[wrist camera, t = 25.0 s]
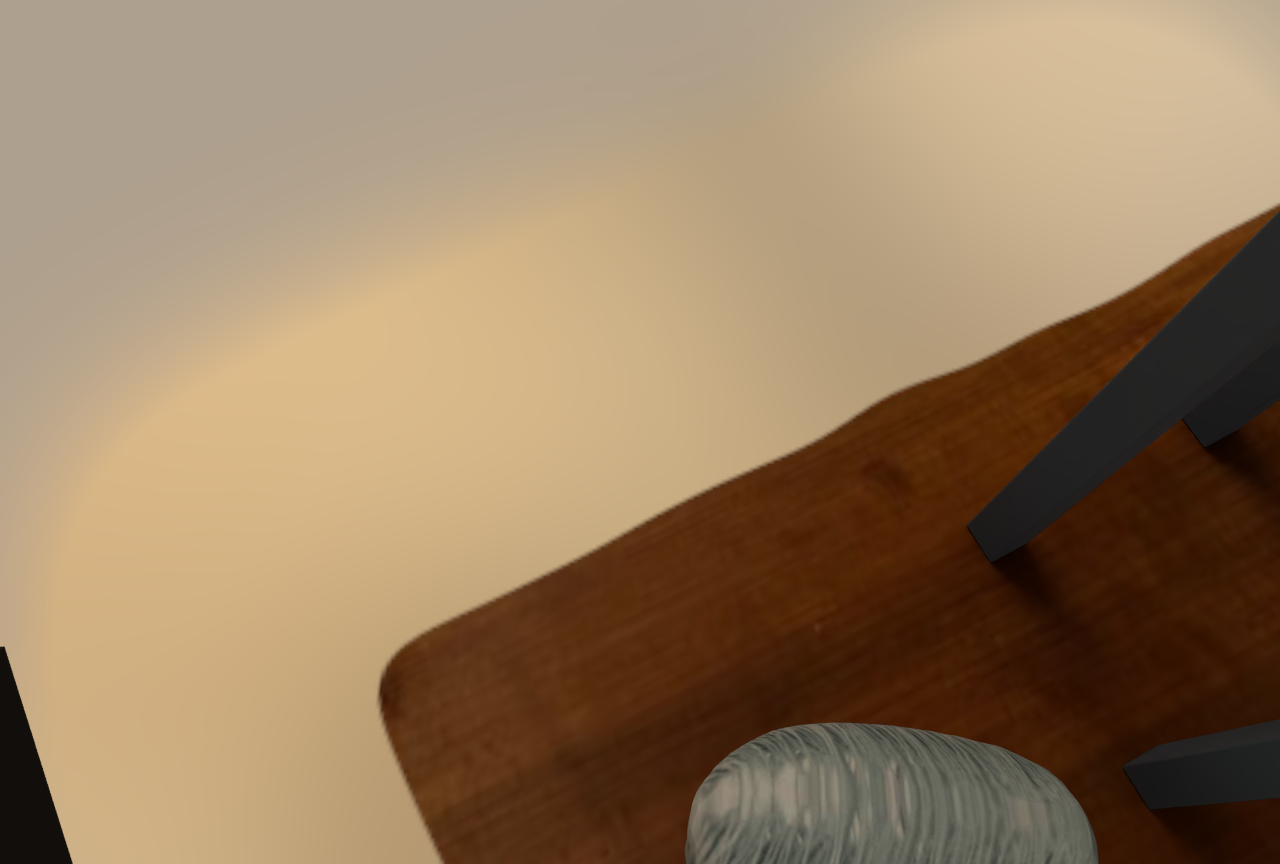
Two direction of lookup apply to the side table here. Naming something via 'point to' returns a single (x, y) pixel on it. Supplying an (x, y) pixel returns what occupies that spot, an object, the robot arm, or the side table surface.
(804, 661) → the side table surface
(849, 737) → the spool
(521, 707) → the side table surface
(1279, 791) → the grey four-legged stand
